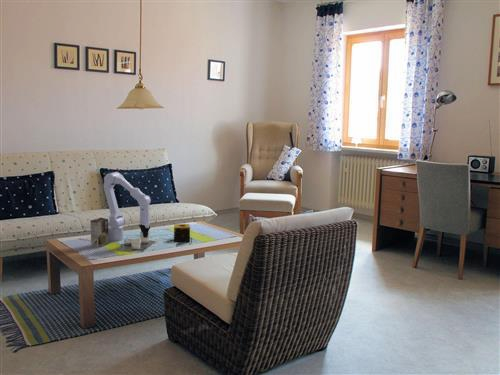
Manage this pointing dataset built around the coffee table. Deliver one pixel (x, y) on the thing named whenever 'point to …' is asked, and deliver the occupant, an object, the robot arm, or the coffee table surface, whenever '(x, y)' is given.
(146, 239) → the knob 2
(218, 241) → the coffee table surface
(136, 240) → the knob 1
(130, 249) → the levelling base
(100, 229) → the coffee box
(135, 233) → the coffee table surface
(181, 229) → the candle
